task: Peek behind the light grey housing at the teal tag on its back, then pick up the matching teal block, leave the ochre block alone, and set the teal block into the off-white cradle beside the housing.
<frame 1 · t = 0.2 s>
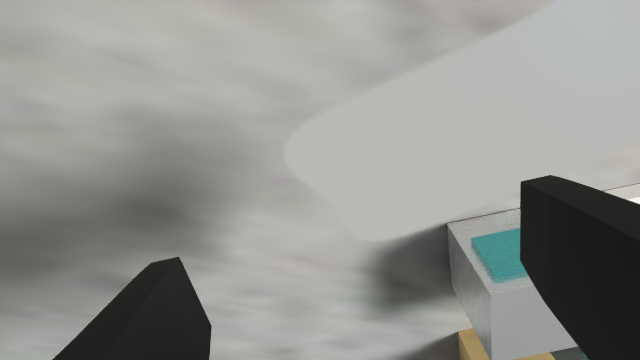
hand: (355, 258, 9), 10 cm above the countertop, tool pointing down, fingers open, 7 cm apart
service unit: (497, 245, 22), on the countertop
cradle: (629, 236, 22), on the countertop
ochre block: (492, 348, 25), on the countertop
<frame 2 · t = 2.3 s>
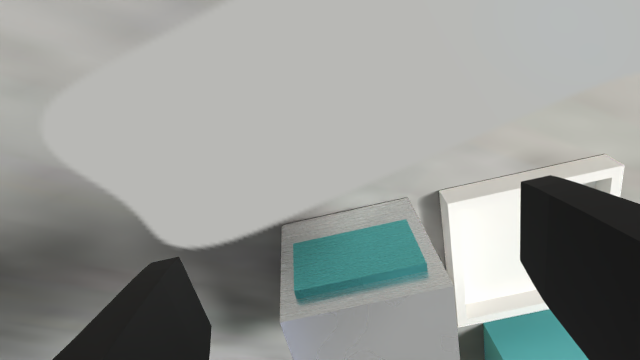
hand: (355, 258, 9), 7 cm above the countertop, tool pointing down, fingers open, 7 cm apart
teal block: (524, 343, 21), on the countertop
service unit: (353, 251, 17), on the countertop
cradle: (520, 239, 17), on the countertop
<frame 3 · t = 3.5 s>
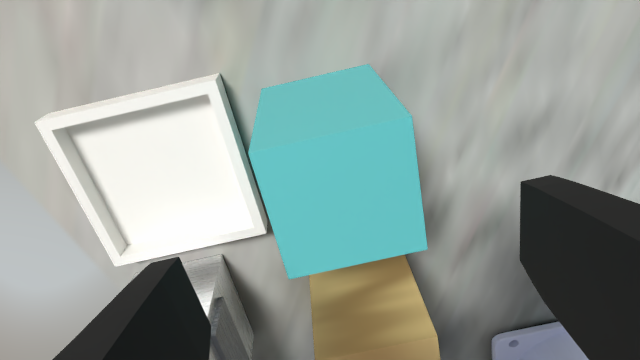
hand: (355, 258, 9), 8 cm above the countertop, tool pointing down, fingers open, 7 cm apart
teal block: (326, 126, 16), on the countertop
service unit: (197, 304, 20), on the countertop
cradle: (167, 171, 17), on the countertop
ochre block: (358, 274, 20), on the countertop
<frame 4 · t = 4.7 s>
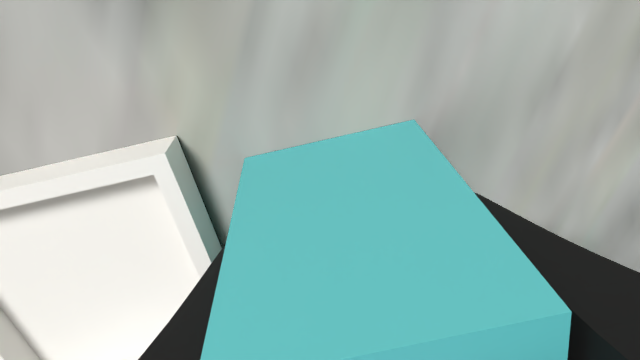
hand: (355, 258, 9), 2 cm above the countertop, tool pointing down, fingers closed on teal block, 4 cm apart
teal block: (344, 211, 11), on the countertop, touching gripper
cradle: (103, 274, 11), on the countertop
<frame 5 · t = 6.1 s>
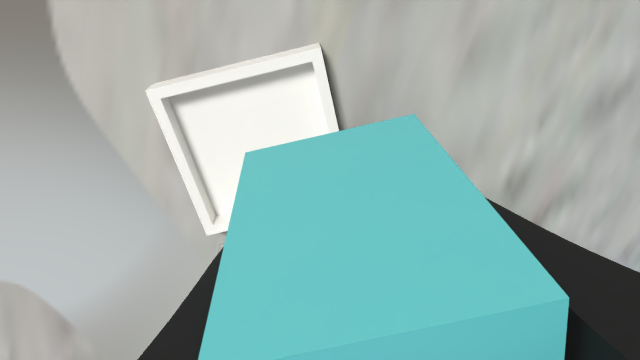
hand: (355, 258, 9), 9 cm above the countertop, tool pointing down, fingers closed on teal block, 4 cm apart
teal block: (344, 205, 11), point 7 cm above the countertop, touching gripper
cradle: (259, 141, 17), on the countertop
when the fingers open (4 cm above the countertop, at t = 7.7 s): teal block drops 1 cm, resting on cradle.
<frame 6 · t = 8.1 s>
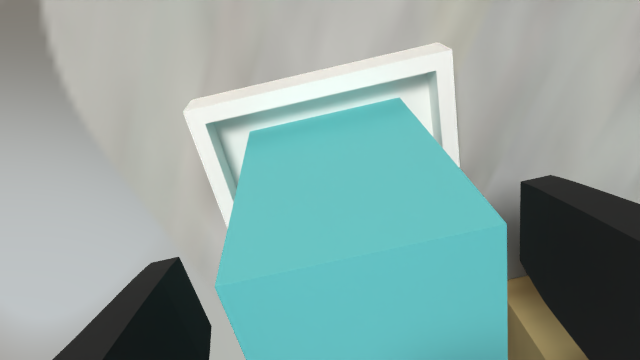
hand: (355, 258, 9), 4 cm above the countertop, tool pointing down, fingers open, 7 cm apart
teal block: (338, 180, 12), resting on cradle
cradle: (337, 180, 12), on the countertop
ochre block: (550, 312, 15), on the countertop
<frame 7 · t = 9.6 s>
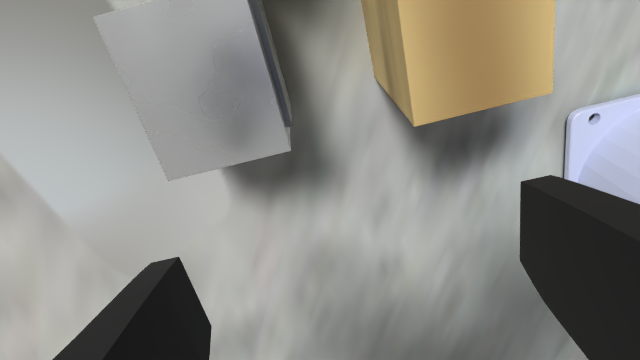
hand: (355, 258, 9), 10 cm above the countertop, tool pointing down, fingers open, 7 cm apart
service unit: (222, 56, 16), on the countertop
ochre block: (415, 14, 16), on the countertop
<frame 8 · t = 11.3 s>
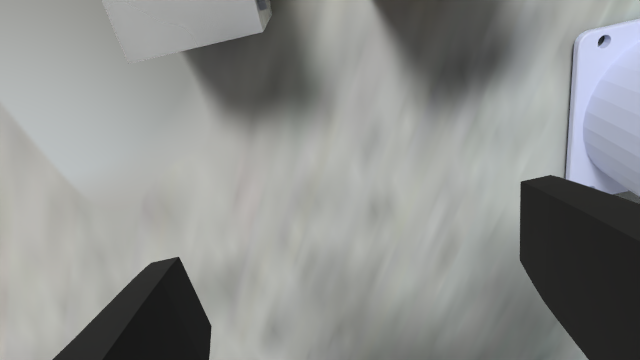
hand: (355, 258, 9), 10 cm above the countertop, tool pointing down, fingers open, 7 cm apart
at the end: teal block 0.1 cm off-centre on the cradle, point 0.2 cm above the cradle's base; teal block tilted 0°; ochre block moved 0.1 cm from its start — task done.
